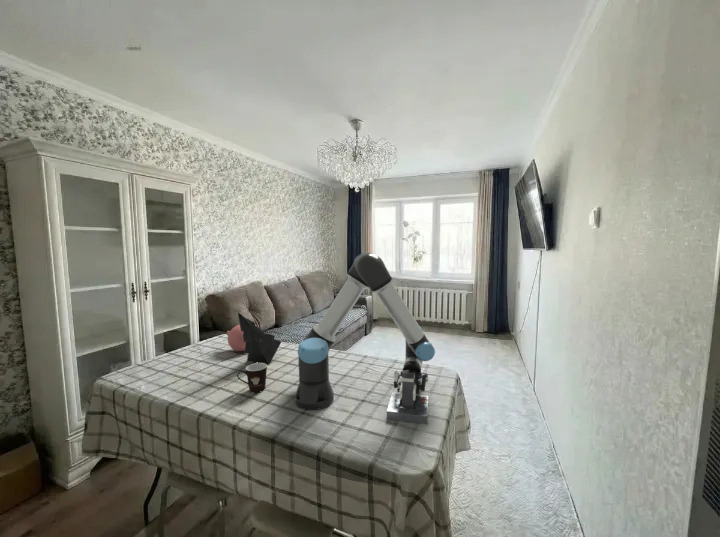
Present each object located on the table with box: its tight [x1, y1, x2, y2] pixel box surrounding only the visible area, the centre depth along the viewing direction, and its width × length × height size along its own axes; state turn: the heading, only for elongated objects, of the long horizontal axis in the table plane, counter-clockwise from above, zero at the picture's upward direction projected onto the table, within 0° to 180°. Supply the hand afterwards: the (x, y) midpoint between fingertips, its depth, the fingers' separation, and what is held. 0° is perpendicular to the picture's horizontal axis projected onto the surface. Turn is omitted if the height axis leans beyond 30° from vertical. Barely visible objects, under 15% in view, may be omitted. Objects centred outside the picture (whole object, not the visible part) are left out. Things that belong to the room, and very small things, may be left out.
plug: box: [401, 372, 415, 409], centre depth 112 cm, size 4×5×11 cm
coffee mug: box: [236, 362, 268, 393], centre depth 131 cm, size 12×9×10 cm
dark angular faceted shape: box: [237, 312, 283, 365], centre depth 157 cm, size 15×15×35 cm
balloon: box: [225, 324, 246, 352], centre depth 180 cm, size 15×20×15 cm
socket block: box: [386, 391, 429, 425], centre depth 112 cm, size 14×14×4 cm
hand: (407, 395), depth 107 cm, fingers closed on plug, 4 cm apart
